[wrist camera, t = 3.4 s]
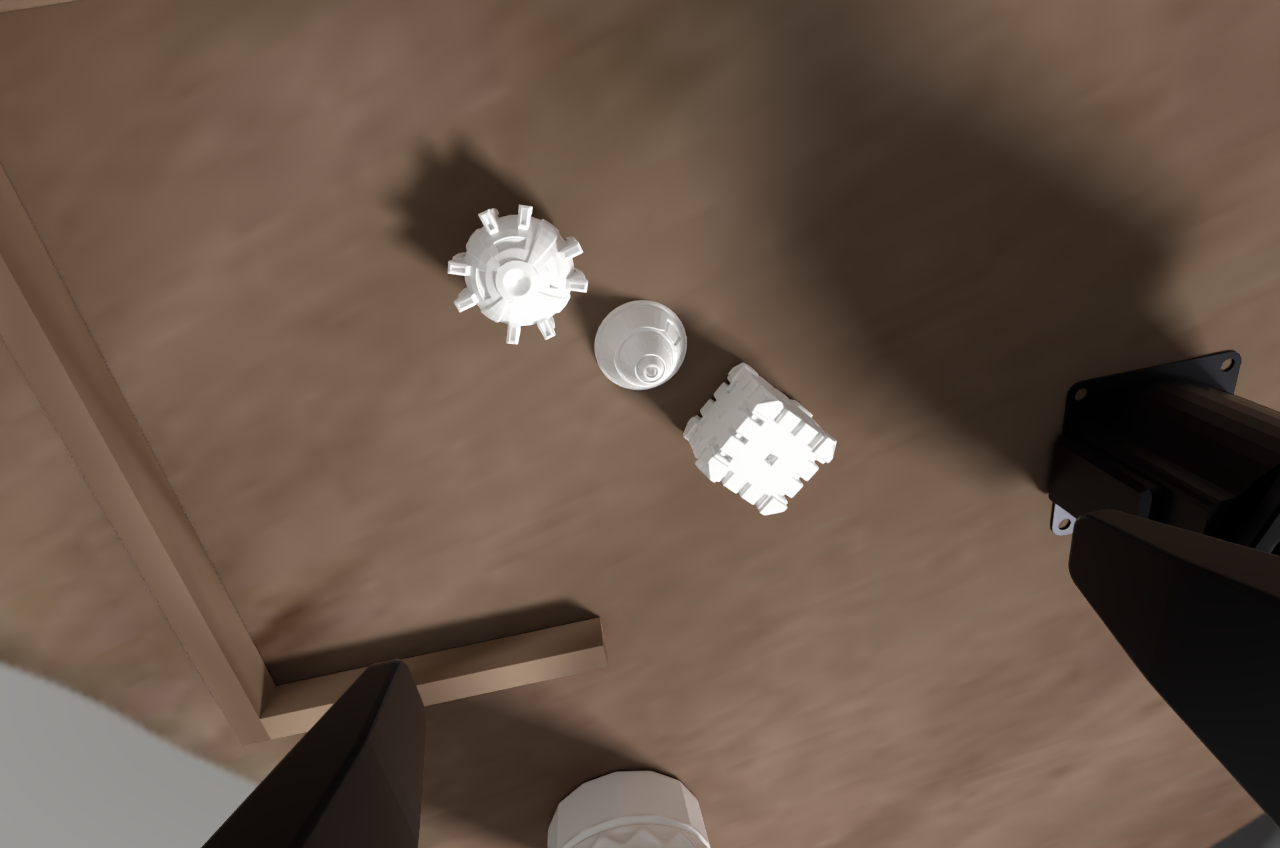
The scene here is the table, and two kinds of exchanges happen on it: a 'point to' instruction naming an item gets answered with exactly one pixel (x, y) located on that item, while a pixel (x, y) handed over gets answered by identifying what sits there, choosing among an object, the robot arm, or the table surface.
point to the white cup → (629, 814)
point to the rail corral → (164, 539)
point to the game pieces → (644, 358)
